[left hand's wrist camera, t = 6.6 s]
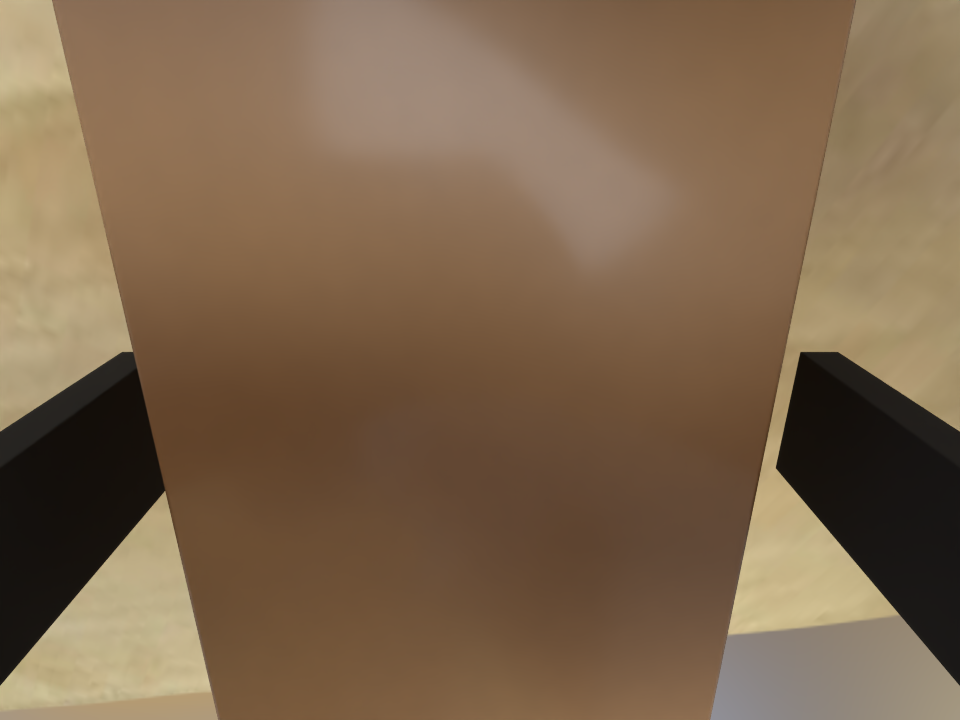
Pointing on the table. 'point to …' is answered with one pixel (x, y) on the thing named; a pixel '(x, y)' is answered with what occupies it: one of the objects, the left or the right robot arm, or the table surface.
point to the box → (458, 331)
